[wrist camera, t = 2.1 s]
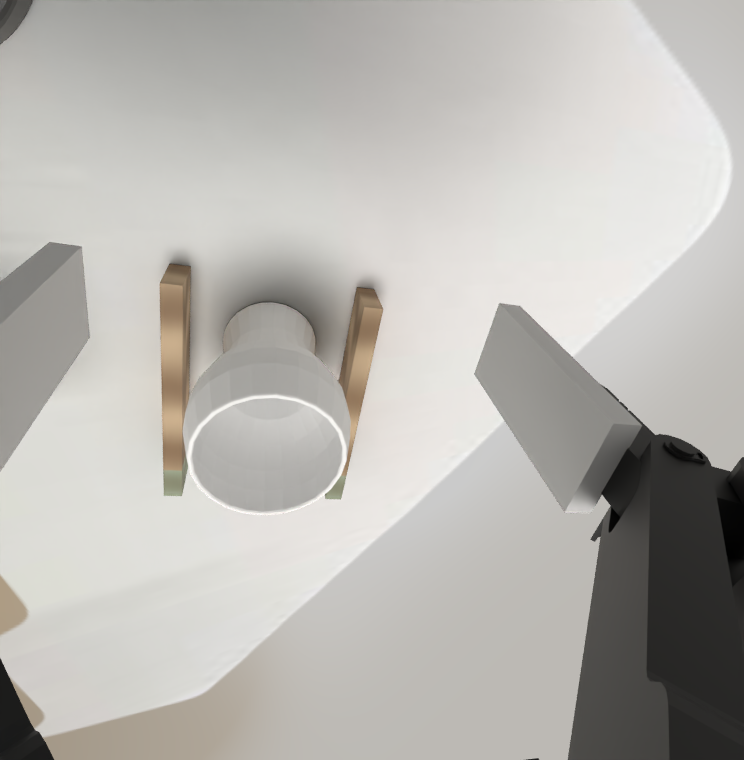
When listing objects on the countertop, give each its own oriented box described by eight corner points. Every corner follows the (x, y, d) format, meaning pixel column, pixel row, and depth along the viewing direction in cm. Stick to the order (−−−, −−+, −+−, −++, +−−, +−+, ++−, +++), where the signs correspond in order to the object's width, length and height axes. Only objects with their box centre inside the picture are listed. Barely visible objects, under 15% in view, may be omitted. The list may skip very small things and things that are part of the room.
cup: (189, 295, 39) (150, 403, 27) (323, 276, 40) (346, 371, 28) (222, 404, 45) (203, 535, 32) (338, 385, 46) (363, 505, 34)
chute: (169, 263, 38) (159, 283, 34) (374, 289, 42) (383, 309, 38) (171, 465, 48) (163, 495, 44) (336, 471, 52) (341, 499, 48)
